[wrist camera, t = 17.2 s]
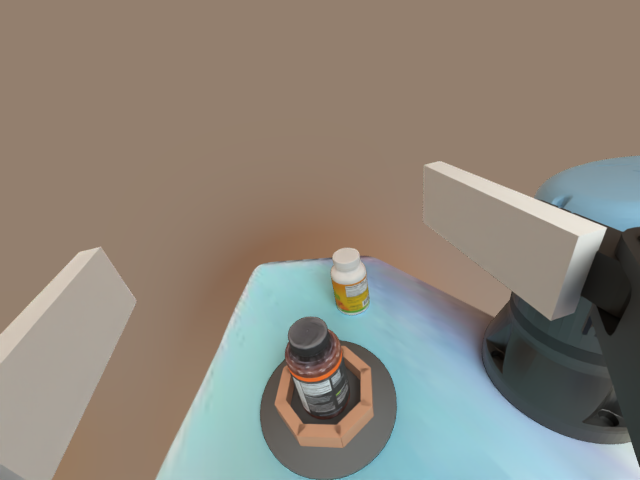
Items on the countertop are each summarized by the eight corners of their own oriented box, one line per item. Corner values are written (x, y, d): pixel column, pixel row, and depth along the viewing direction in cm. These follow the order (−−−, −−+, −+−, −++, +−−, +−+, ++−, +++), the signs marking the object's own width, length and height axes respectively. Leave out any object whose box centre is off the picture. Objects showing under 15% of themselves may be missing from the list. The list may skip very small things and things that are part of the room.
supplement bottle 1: (309, 370, 38) (289, 306, 32) (354, 376, 36) (342, 309, 30) (294, 417, 33) (268, 352, 27) (346, 427, 31) (330, 359, 25)
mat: (333, 324, 44) (333, 322, 44) (426, 399, 32) (426, 396, 32) (239, 396, 37) (238, 394, 36) (315, 527, 25) (314, 525, 25)
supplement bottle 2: (333, 297, 49) (324, 249, 44) (363, 289, 50) (358, 241, 45) (341, 320, 45) (331, 269, 40) (374, 311, 45) (369, 260, 40)
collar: (331, 342, 41) (329, 332, 40) (392, 396, 33) (392, 385, 32) (265, 394, 36) (261, 385, 35) (319, 473, 28) (315, 463, 27)
